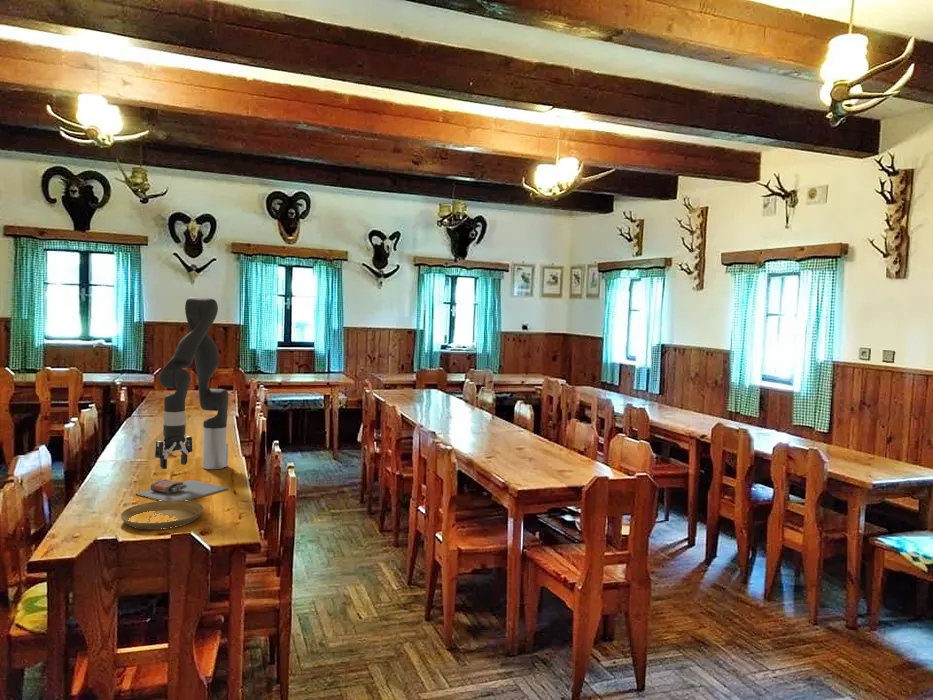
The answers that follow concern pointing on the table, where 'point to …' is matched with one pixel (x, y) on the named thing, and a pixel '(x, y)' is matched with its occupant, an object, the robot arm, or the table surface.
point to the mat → (185, 491)
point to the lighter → (167, 486)
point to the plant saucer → (164, 513)
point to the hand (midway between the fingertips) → (174, 466)
